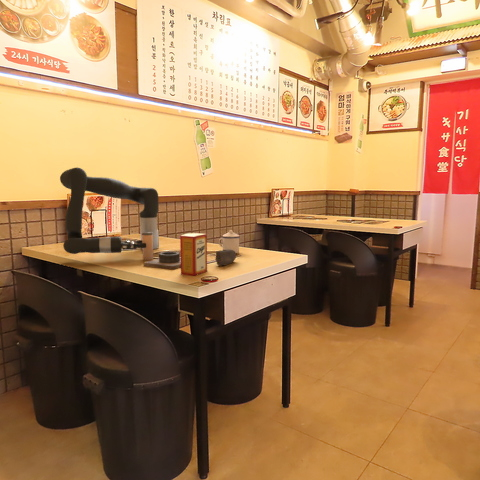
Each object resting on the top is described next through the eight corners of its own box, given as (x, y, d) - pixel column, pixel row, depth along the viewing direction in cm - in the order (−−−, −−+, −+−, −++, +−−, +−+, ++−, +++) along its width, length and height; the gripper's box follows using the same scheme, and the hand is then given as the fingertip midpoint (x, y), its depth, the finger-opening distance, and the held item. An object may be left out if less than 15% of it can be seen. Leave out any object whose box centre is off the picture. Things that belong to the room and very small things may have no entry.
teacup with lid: (242, 252, 209) (242, 230, 207) (233, 254, 201) (233, 232, 200) (223, 250, 215) (223, 228, 214) (214, 252, 208) (214, 230, 206)
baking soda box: (193, 269, 168) (193, 232, 166) (207, 271, 165) (206, 232, 163) (181, 274, 160) (180, 234, 157) (194, 275, 157) (194, 235, 154)
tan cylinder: (147, 258, 193) (146, 231, 191) (155, 259, 190) (154, 232, 188) (140, 259, 188) (139, 232, 186) (148, 260, 186) (147, 233, 184)
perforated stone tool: (230, 260, 187) (230, 246, 186) (240, 262, 184) (240, 247, 183) (211, 266, 174) (211, 251, 173) (221, 268, 172) (221, 252, 171)
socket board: (166, 259, 189) (166, 249, 188) (194, 262, 181) (194, 252, 181) (143, 265, 175) (143, 254, 174) (172, 269, 168) (172, 258, 167)
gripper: (108, 239, 177) (145, 238, 181) (112, 234, 191) (146, 234, 194) (109, 255, 179) (146, 254, 182) (112, 250, 192) (147, 249, 196)
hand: (146, 243), depth 188 cm, fingers open, 8 cm apart
